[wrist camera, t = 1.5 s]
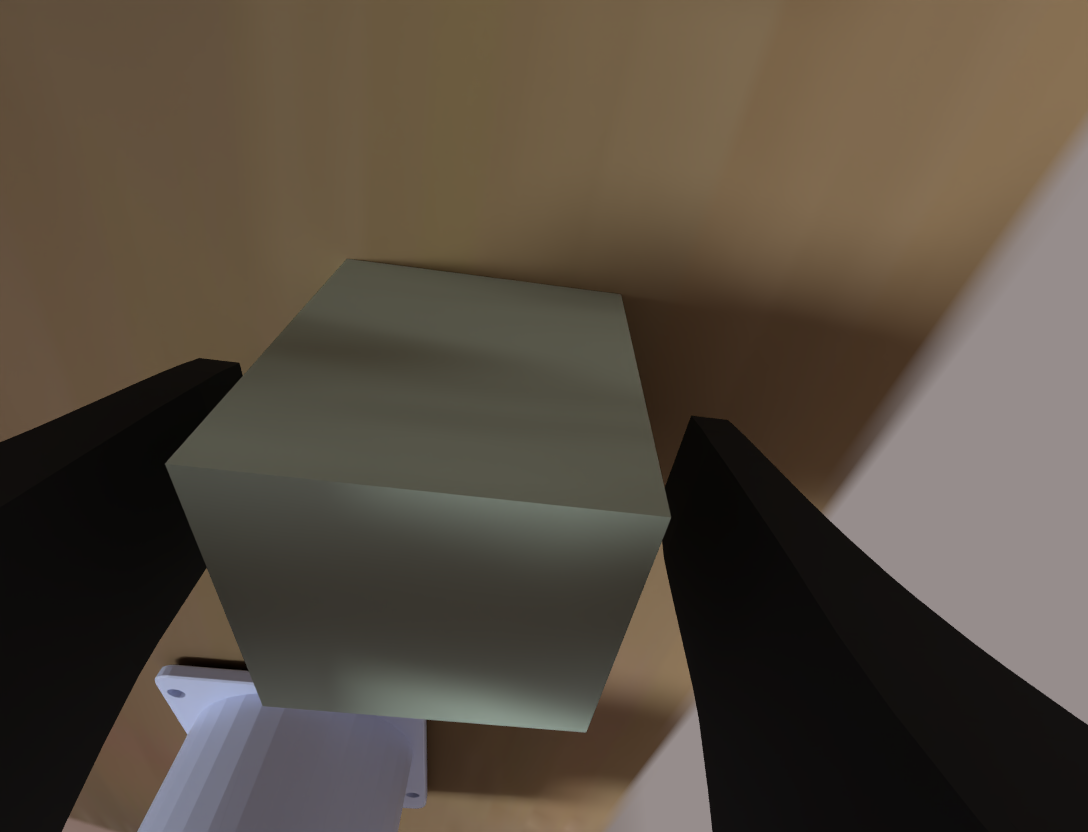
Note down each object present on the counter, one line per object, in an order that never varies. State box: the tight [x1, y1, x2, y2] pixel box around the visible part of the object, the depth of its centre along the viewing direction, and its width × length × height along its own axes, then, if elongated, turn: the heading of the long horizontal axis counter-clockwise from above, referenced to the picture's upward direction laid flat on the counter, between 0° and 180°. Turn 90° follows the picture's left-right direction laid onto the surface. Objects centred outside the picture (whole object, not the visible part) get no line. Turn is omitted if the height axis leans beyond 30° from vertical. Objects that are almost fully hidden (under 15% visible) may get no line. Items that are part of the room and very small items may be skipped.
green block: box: [165, 259, 671, 732], centre depth 8 cm, size 4×4×5 cm
